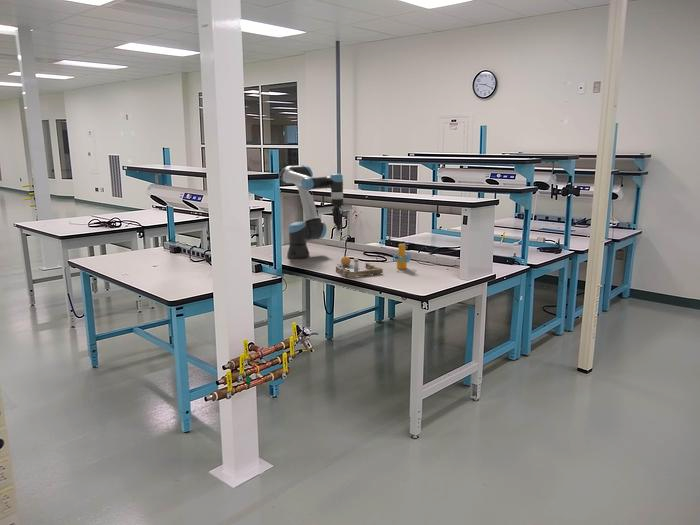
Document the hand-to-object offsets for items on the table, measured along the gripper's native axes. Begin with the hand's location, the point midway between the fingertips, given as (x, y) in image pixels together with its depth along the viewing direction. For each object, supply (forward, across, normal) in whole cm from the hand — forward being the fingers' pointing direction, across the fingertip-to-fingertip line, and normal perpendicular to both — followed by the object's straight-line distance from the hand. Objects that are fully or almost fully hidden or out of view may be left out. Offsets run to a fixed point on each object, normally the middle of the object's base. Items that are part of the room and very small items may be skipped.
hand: (338, 235), depth 339 cm
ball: (+15, +12, 0) cm, 19 cm away
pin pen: (+18, +31, 0) cm, 36 cm away
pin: (+18, +28, 0) cm, 33 cm away
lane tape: (+18, +21, 0) cm, 27 cm away
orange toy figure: (+18, +34, +28) cm, 48 cm away
